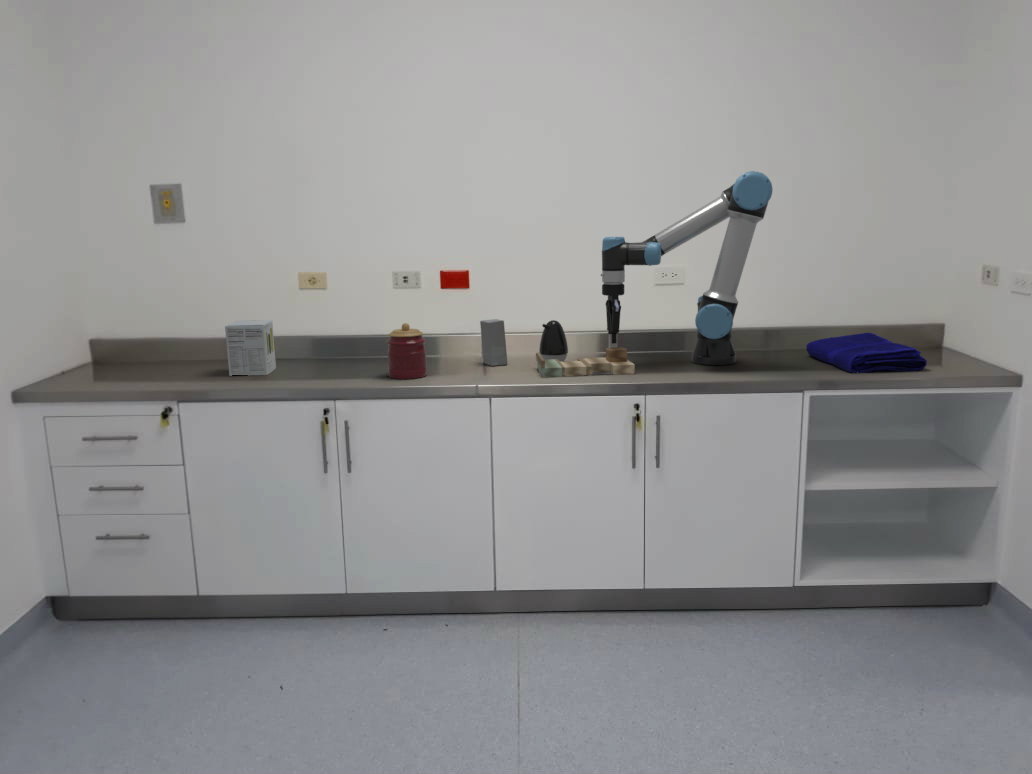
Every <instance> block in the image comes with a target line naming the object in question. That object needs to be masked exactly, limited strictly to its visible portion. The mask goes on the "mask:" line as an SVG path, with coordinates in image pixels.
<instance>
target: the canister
mask: <svg viewBox="0 0 1032 774" xmlns="http://www.w3.org/2000/svg"><path fill="white" fill-rule="evenodd" d="M423 335H424V332H422V331H420V329H418V328H411V326H410V324H409V323H406V322H405V323H402V325H401V328H398V329H397V328H396V329H394V330H392V331H391V332H389V333H388V337H389V339H386V344H387V346H388V347H387V349H388V350H387V351H386V354H387V365H388V367H387V368H388V369H387V371H388V372H387V373H388V377H389V378H391V379H397V380H412V379H419V378H424V377H425V376H427V375H428V365H427V349H426V347H425V346H426V345H425V344H426V342H427V339H426V338H424V337H423Z"/></svg>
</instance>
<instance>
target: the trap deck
mask: <svg viewBox="0 0 1032 774" xmlns="http://www.w3.org/2000/svg"><path fill="white" fill-rule="evenodd" d="M535 360H536V362H537V370H538V372H540V374H541V376H542V377H543V378H558V377H559V378H562V377H565V376H566V377H585V376H584V375H591V376H605V375H606V376H609V375H610V376H611V375H612V376H613V375H634V374H635V371H636V370H635V367H636V366H635V363H633V362H632V361H630V360H629V359H627V362H608V361H607V360H606V356H604V357H583V358H582V357H581V358H580V357H579V358H577V360H571V361H569V360H568V361H565V360H564V361H563V362H560V361H559V360H558V359H550V360H544V359H543V357H542V356H541V355H540V353H539V352H535Z"/></svg>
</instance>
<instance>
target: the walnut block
mask: <svg viewBox="0 0 1032 774" xmlns="http://www.w3.org/2000/svg"><path fill="white" fill-rule="evenodd" d="M605 357H606V360H607V361H608V362H627V360H628V349H627V348H625V347H623V346H617V347H614V348H609V347H605Z"/></svg>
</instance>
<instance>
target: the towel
mask: <svg viewBox="0 0 1032 774" xmlns="http://www.w3.org/2000/svg"><path fill="white" fill-rule="evenodd" d="M805 350H806V352H807V353H808V355H809V356H811V357H812V358H815V359H816V360H818V361H821V362H824V363H827V364H829V365H834V366H835V367H837V368H838V369H840V370H843V371H845V372H847V371H848V372H847V373H850V372H854V373H853V374H867V373H869V372H881V371H883V372H887V371H888V372H893V371H896V372H919V371H922V370H923V369H925V367H927V364H928V363H927V359H925V358H924V357H923V356H922V355H921V351H920V350H917V349H916V348H915V347H911V346H908V345H904V344H901V343H894V342H892V340H891V341H890V340H889V339H887V338H884V337H881V336H879V335H877V334H875V333H872V332H863V333H862V332H861V333H856V334H850V335H848V334H847V335H842V336H834V337H826V338H821V339H816V340H813V341H810V342H809V343H807V344H806V348H805ZM857 372H858V373H857Z"/></svg>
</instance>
